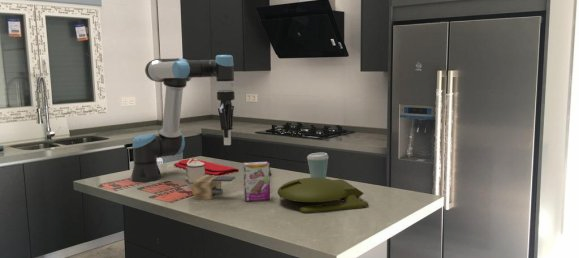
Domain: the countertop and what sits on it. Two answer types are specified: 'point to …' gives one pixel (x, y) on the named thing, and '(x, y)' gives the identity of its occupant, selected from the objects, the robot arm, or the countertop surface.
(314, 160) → the disposable coffee cup
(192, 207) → the countertop surface
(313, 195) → the spaceship
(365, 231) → the countertop surface
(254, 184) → the candy bar box
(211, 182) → the oak block
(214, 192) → the lynch pin
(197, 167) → the teacup with lid
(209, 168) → the red long flat piece
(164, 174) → the countertop surface
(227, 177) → the plate
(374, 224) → the countertop surface
